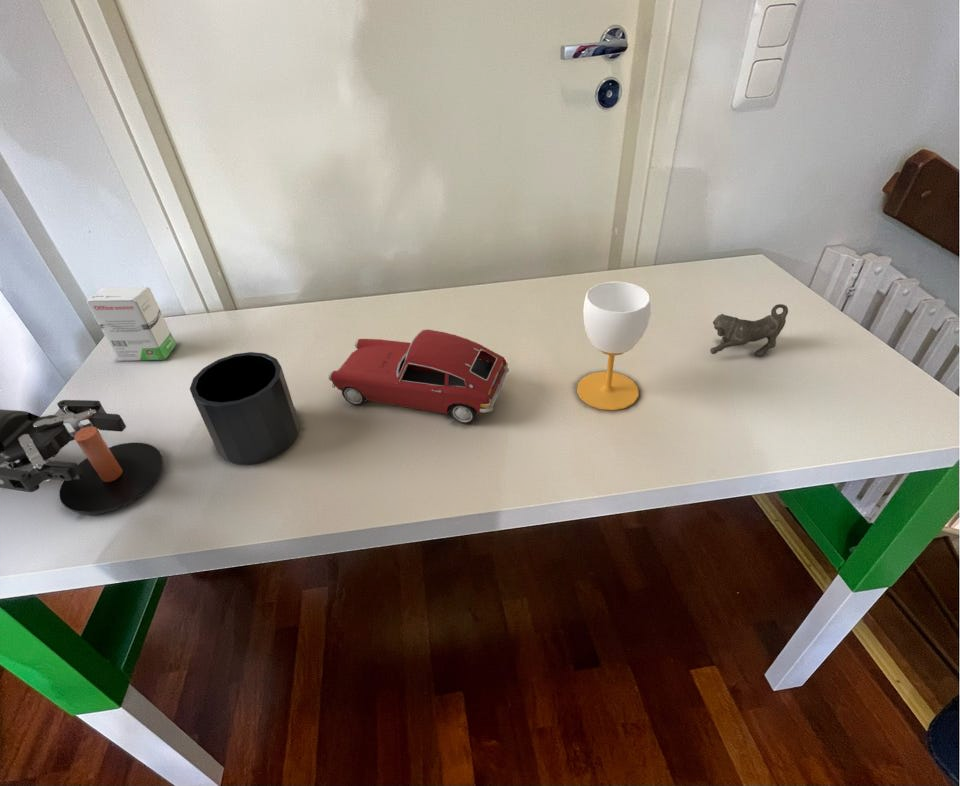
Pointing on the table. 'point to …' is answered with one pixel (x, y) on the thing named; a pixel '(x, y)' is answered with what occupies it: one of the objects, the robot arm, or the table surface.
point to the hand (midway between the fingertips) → (101, 446)
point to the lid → (110, 474)
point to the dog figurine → (749, 330)
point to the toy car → (424, 374)
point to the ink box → (132, 323)
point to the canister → (246, 407)
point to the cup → (613, 340)
